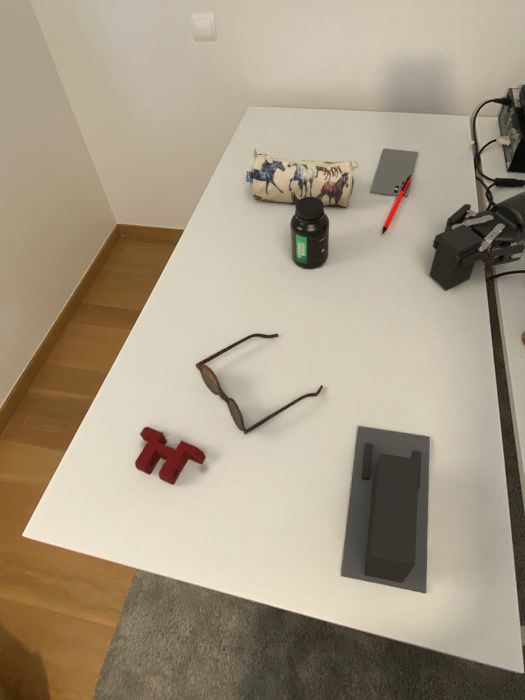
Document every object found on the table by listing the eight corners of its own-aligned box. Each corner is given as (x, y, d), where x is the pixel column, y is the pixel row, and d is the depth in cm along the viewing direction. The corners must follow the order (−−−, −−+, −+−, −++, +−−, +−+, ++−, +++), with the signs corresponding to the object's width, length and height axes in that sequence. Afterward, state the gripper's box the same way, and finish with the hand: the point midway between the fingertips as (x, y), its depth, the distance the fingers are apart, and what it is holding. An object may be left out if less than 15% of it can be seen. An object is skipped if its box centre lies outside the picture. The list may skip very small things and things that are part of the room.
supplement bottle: (303, 275, 92) (302, 223, 82) (285, 253, 95) (282, 201, 86) (335, 260, 93) (337, 208, 83) (315, 240, 97) (316, 187, 87)
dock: (429, 438, 71) (443, 404, 63) (425, 593, 59) (442, 575, 51) (357, 427, 73) (363, 393, 65) (340, 576, 61) (345, 555, 53)
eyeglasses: (198, 375, 80) (192, 357, 76) (274, 331, 84) (272, 312, 80) (246, 443, 73) (243, 427, 69) (328, 391, 77) (329, 373, 73)
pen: (412, 177, 105) (412, 173, 104) (384, 236, 96) (384, 231, 95) (407, 177, 105) (408, 172, 104) (379, 235, 96) (380, 230, 95)
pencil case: (247, 207, 104) (242, 166, 96) (257, 183, 109) (253, 141, 101) (352, 217, 100) (356, 174, 92) (358, 190, 105) (361, 148, 97)
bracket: (202, 449, 69) (142, 424, 72) (181, 485, 67) (120, 458, 70) (205, 457, 72) (147, 433, 75) (186, 493, 69) (126, 466, 72)
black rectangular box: (469, 279, 87) (483, 239, 80) (446, 290, 86) (458, 251, 78) (451, 264, 89) (464, 224, 82) (429, 274, 88) (439, 235, 81)
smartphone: (418, 151, 111) (408, 195, 102) (417, 154, 111) (407, 197, 102) (383, 148, 112) (370, 190, 103) (383, 150, 113) (370, 192, 104)
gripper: (549, 256, 84) (469, 296, 80) (488, 211, 92) (413, 245, 88) (568, 220, 78) (482, 261, 74) (501, 175, 86) (420, 210, 82)
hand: (445, 252), depth 81 cm, fingers closed on black rectangular box, 4 cm apart
